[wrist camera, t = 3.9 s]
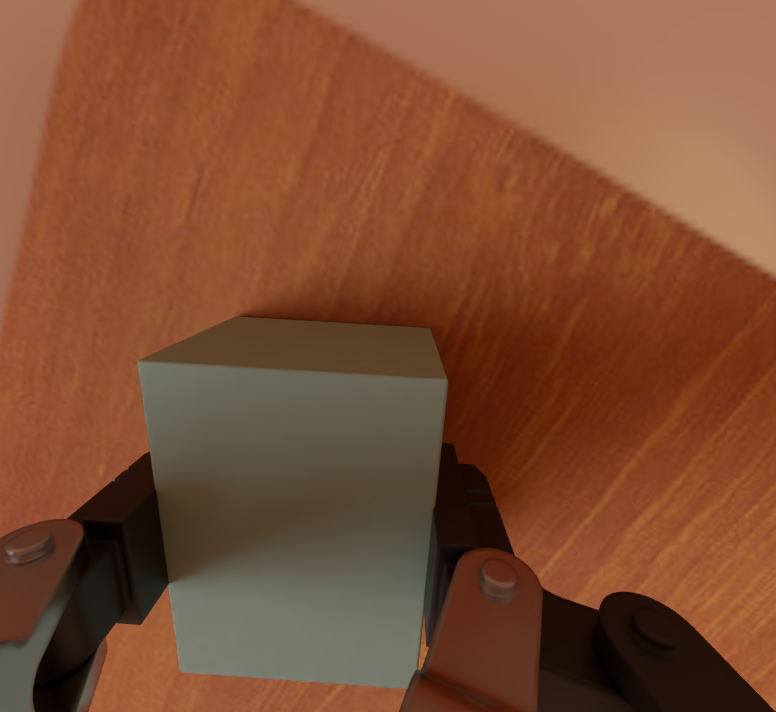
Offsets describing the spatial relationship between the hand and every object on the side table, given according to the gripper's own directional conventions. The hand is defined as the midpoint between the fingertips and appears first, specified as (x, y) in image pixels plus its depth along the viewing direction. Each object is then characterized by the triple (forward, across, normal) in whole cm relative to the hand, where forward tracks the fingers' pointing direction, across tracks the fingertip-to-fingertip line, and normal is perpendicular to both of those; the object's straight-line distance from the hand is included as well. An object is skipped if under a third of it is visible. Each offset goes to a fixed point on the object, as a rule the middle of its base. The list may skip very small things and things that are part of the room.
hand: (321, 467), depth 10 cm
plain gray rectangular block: (+1, 0, 0) cm, 1 cm away
